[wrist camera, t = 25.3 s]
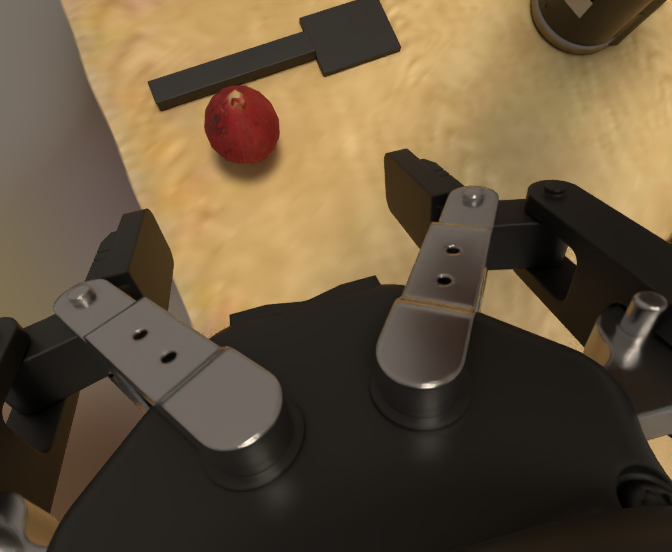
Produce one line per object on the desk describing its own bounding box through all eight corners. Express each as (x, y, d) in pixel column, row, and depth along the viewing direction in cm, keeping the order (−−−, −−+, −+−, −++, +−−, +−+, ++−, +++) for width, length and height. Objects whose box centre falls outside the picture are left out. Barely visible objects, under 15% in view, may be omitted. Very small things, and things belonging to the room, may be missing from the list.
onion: (231, 188, 34) (210, 146, 26) (205, 131, 35) (176, 73, 27) (291, 163, 35) (288, 115, 27) (265, 108, 35) (254, 45, 27)
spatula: (375, -3, 38) (377, -13, 37) (400, 50, 37) (403, 41, 36) (144, 71, 35) (139, 62, 34) (168, 129, 34) (163, 123, 33)
